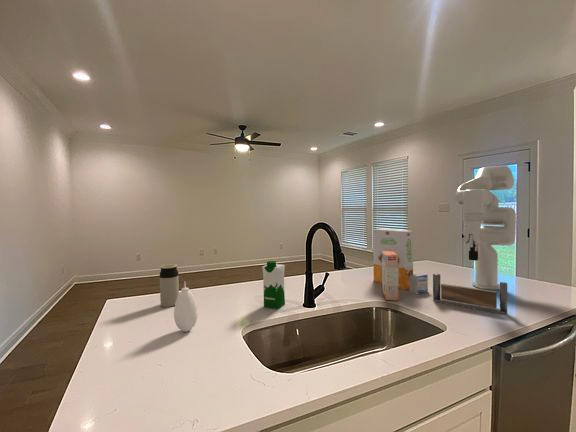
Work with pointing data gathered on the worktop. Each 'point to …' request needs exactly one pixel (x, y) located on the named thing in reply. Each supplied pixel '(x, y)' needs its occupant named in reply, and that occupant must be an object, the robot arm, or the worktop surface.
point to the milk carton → (273, 284)
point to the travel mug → (169, 285)
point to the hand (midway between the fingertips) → (473, 259)
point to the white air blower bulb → (185, 310)
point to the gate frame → (501, 311)
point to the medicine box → (419, 283)
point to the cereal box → (401, 246)
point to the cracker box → (390, 275)
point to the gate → (469, 295)
